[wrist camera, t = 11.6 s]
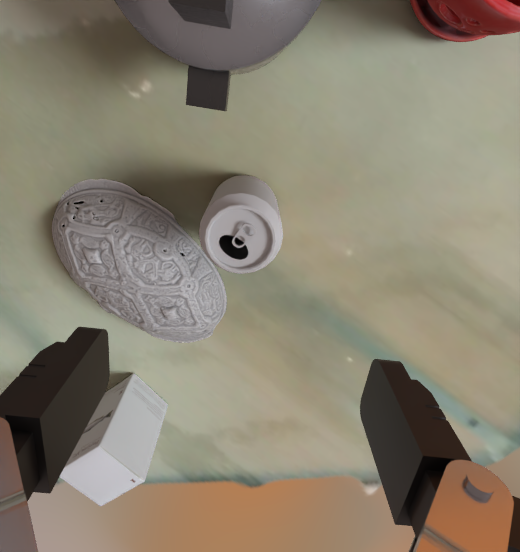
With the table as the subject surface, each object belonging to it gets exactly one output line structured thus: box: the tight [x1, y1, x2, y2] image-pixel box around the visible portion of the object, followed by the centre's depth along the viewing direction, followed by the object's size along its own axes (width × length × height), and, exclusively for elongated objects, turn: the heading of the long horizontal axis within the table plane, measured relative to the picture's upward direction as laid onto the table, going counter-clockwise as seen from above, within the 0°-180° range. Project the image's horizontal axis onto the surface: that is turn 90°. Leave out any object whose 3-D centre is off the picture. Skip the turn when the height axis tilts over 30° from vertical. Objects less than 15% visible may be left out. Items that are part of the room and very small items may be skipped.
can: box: [199, 175, 283, 274], centre depth 38 cm, size 8×8×12 cm
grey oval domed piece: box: [52, 179, 227, 343], centre depth 45 cm, size 16×25×7 cm, turn 45°
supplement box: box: [59, 373, 168, 506], centre depth 49 cm, size 7×7×13 cm
